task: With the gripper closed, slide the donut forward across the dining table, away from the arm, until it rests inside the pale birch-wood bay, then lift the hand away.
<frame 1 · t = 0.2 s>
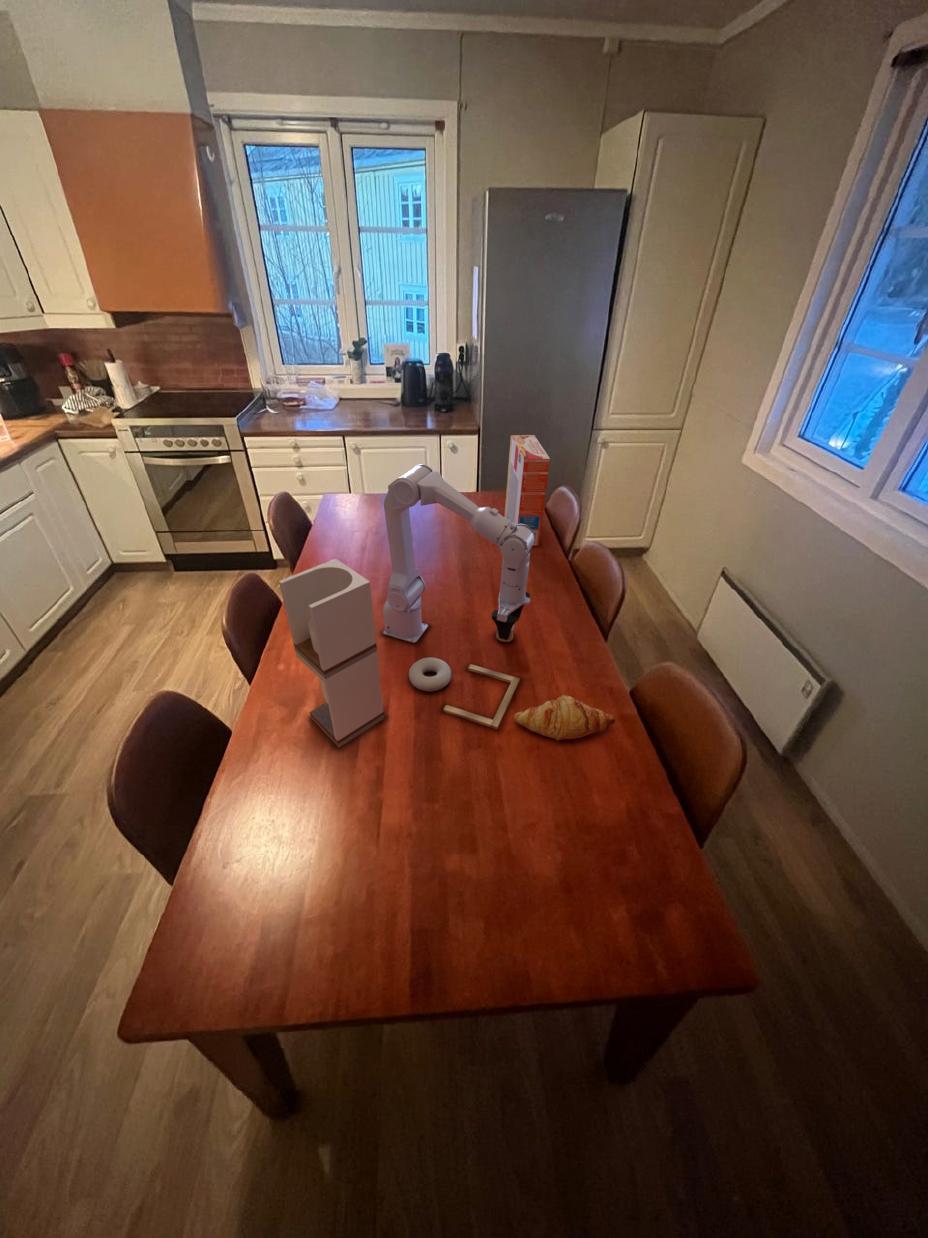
hand: (508, 628, 118), 10 cm above the table, tool pointing down, fingers open, 7 cm apart
donut: (430, 679, 118), on the table
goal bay: (481, 695, 114), on the table
croissant: (562, 725, 108), on the table
grey pedestal stand: (347, 719, 108), on the table
sprinkles bottle: (504, 637, 131), on the table
cereal box: (520, 531, 180), on the table
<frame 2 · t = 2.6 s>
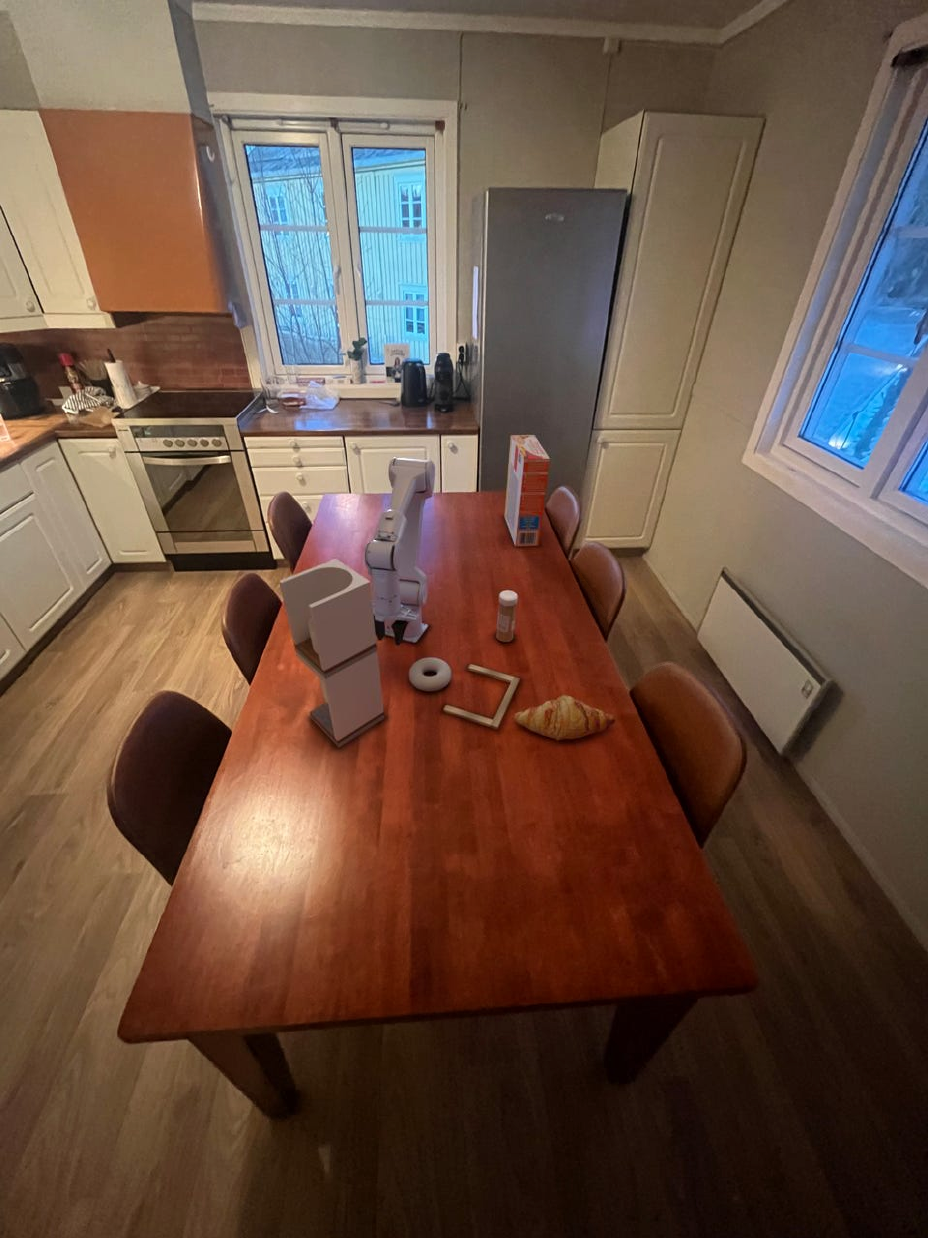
hand: (390, 640, 116), 8 cm above the table, tool pointing down, fingers open, 4 cm apart
nothing on the table moved.
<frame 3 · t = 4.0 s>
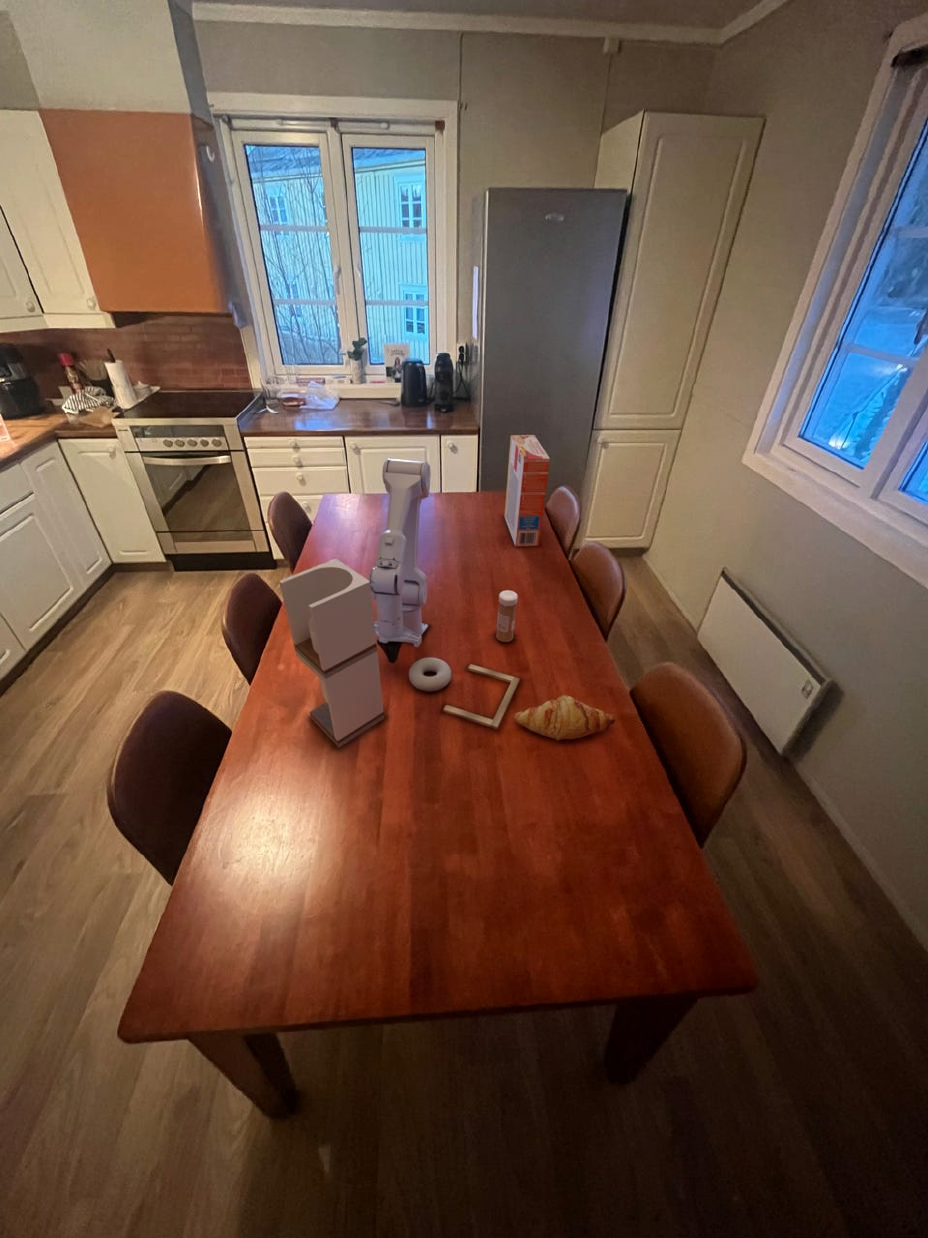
hand: (393, 660, 119), 2 cm above the table, tool pointing down, fingers closed
nothing on the table moved.
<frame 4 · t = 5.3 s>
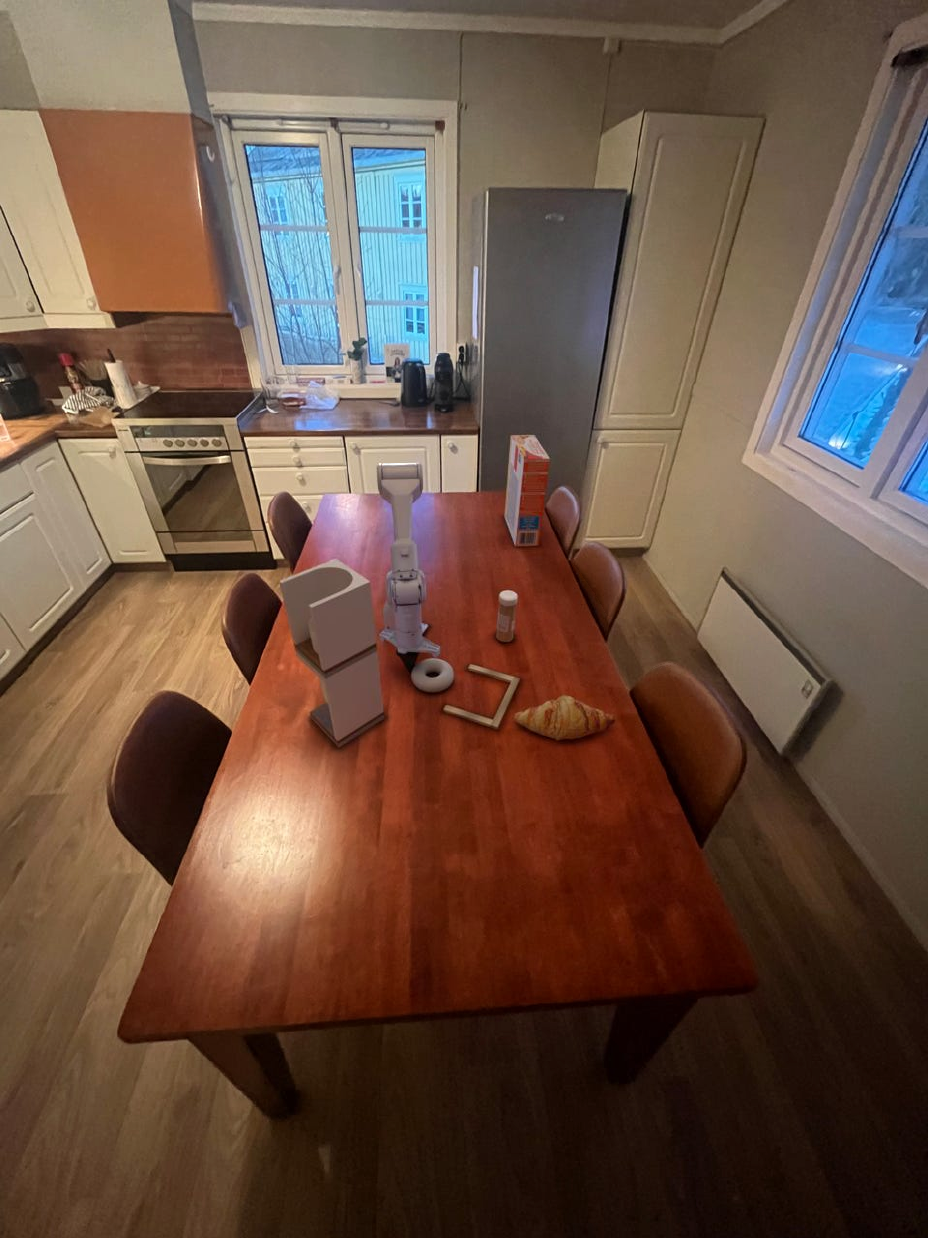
hand: (411, 670, 119), 1 cm above the table, tool pointing down, fingers closed
donut: (432, 680, 118), on the table, touching gripper
everything else where it was.
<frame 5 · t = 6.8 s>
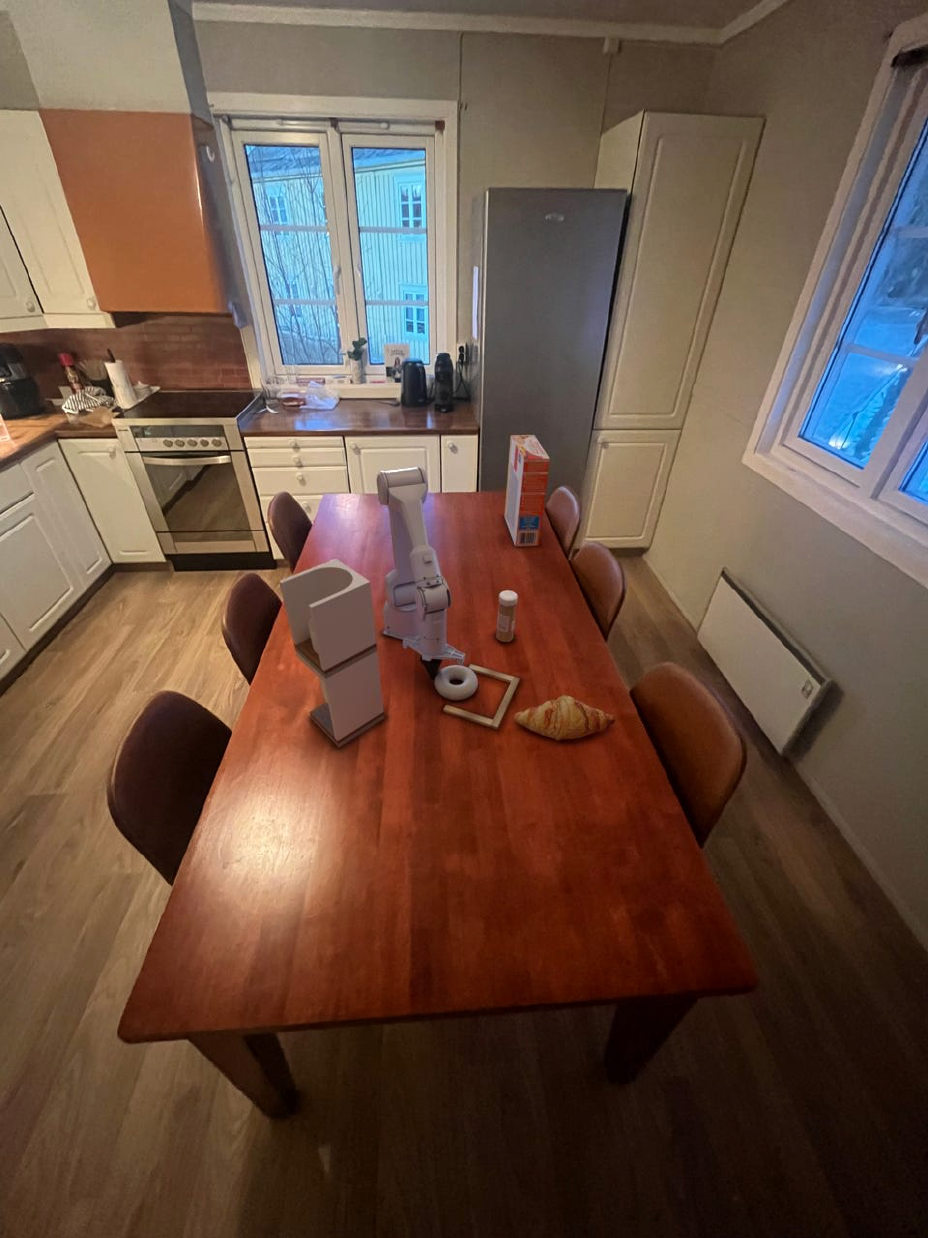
hand: (433, 677, 117), 1 cm above the table, tool pointing down, fingers closed
donut: (456, 688, 116), on the table, touching gripper
everything else where it was.
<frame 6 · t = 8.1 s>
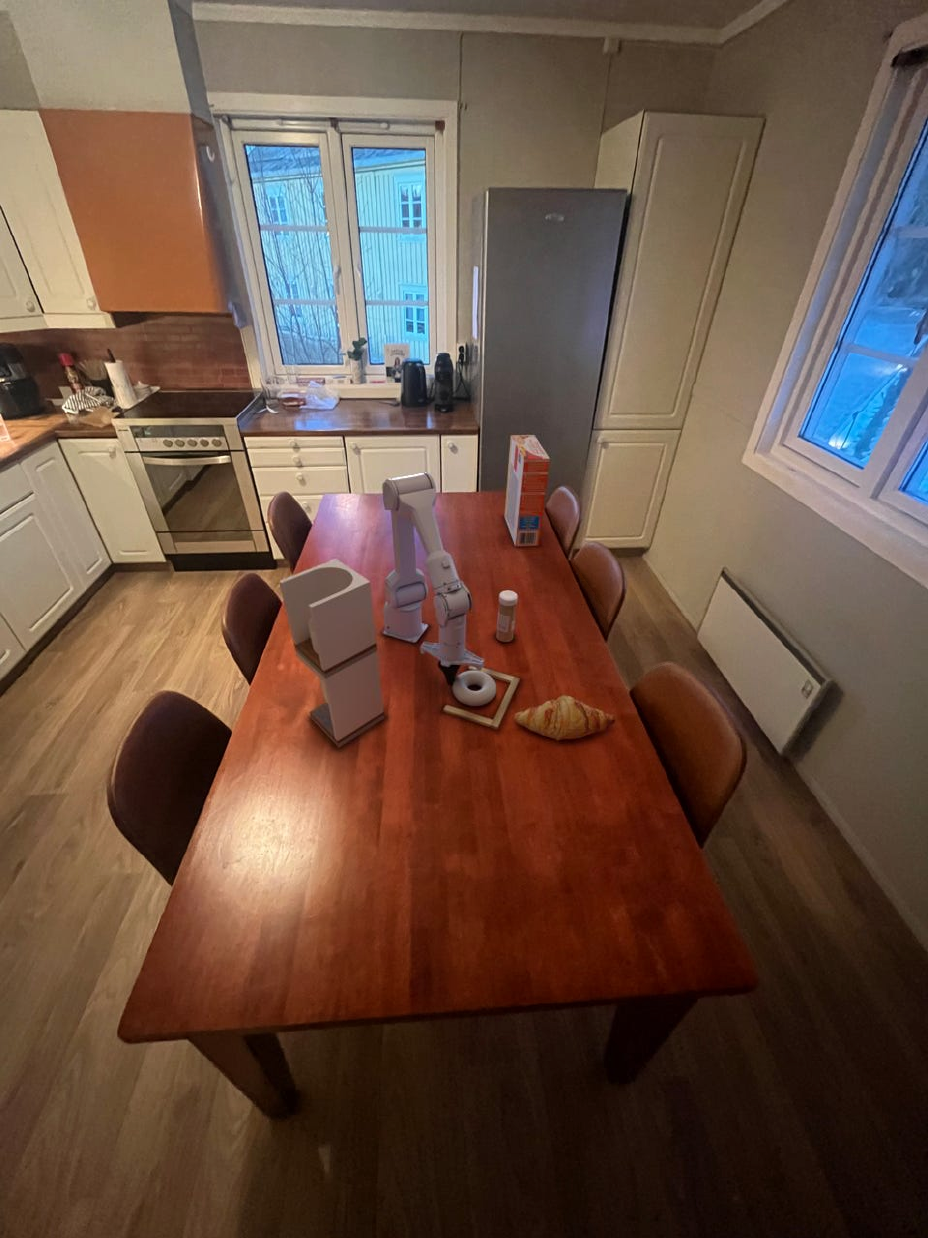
hand: (451, 682, 116), 1 cm above the table, tool pointing down, fingers closed
donut: (474, 693, 115), on the table, touching gripper
everything else where it was.
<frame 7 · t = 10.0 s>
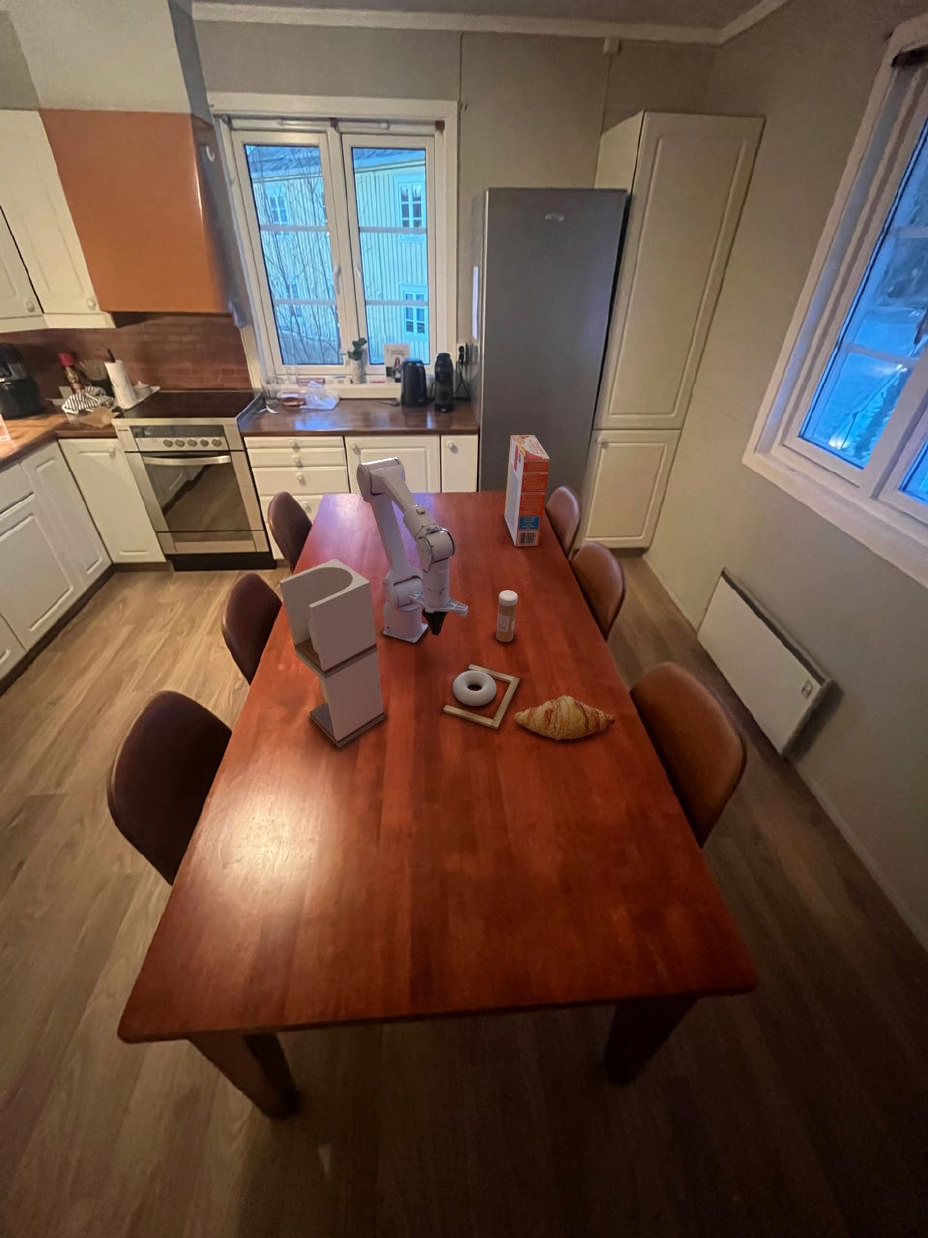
hand: (436, 632, 117), 9 cm above the table, tool pointing down, fingers closed
donut: (474, 693, 115), on the table
everything else where it was.
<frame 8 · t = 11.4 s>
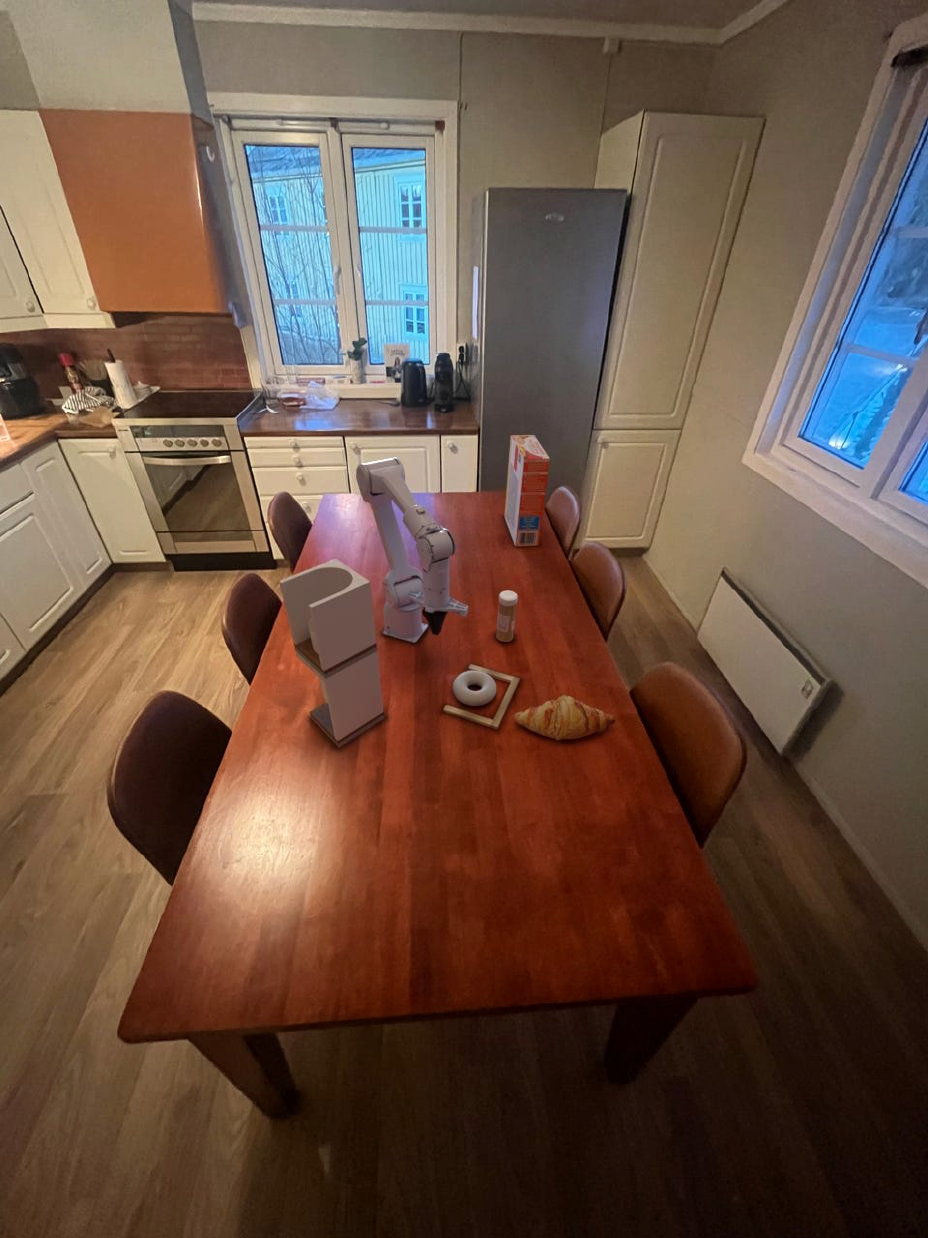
hand: (436, 632, 117), 9 cm above the table, tool pointing down, fingers closed
nothing on the table moved.
at the end: donut inside the target area (0.3 cm from its centre), on the table; donut moved 11.2 cm from its start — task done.
